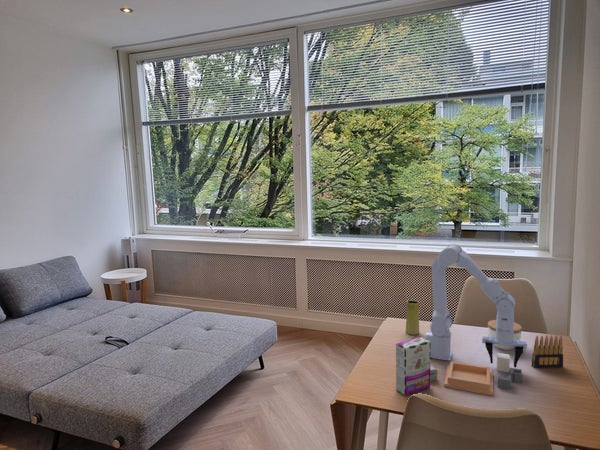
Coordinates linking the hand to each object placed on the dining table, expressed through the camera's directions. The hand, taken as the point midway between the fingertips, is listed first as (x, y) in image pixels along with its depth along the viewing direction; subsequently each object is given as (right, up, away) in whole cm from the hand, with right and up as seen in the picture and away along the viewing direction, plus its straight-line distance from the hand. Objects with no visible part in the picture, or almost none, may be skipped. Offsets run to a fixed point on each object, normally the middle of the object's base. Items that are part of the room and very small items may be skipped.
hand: (503, 364), depth 152 cm
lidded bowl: (+10, +1, +20) cm, 22 cm away
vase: (-24, +2, +36) cm, 43 cm away
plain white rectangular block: (0, -2, 0) cm, 2 cm away
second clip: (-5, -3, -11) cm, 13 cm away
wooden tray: (-16, -3, -8) cm, 18 cm away
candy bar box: (-37, -4, -13) cm, 39 cm away
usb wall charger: (-29, -3, -4) cm, 30 cm away
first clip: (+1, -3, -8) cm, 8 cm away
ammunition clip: (+17, -2, +2) cm, 17 cm away
